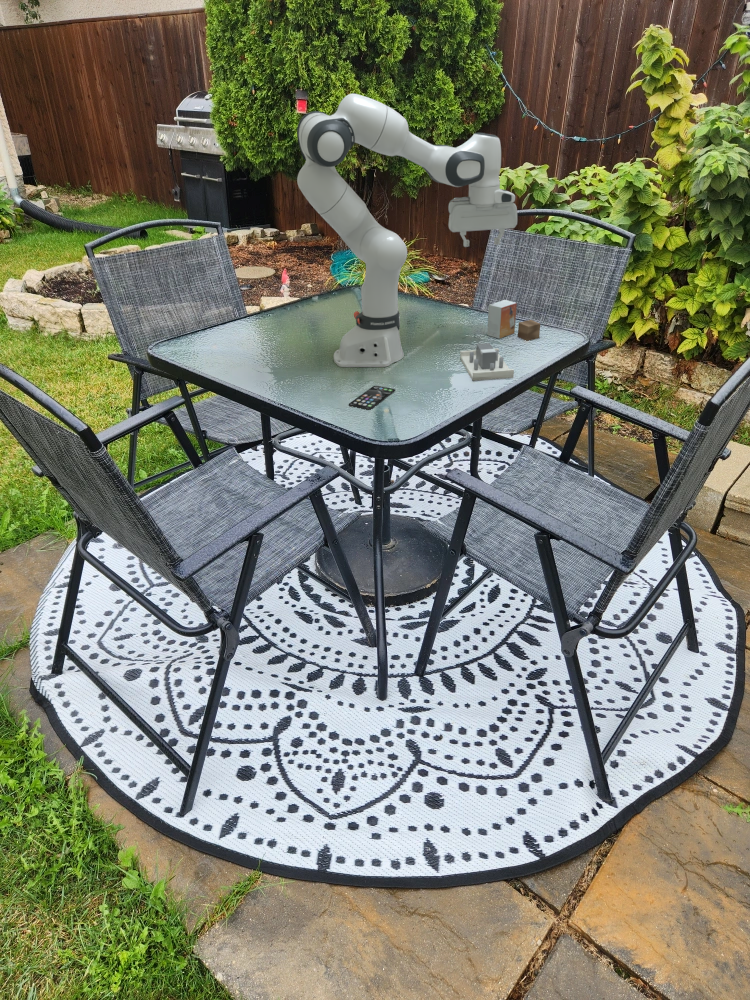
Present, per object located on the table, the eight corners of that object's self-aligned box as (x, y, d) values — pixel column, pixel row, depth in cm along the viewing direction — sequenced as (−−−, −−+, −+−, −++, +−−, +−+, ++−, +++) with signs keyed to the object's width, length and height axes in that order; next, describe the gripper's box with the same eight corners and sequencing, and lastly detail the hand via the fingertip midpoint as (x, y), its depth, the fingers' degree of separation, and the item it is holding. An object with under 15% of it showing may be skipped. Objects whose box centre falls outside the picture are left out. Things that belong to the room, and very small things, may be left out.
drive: (481, 369, 198) (482, 353, 196) (475, 359, 205) (476, 343, 202) (495, 368, 199) (496, 351, 196) (488, 358, 205) (489, 342, 203)
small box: (499, 339, 222) (501, 307, 216) (486, 335, 226) (488, 304, 220) (515, 333, 226) (517, 302, 221) (502, 329, 230) (504, 299, 224)
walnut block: (526, 341, 220) (528, 326, 217) (517, 337, 224) (518, 322, 221) (539, 338, 221) (540, 323, 219) (529, 334, 225) (531, 319, 223)
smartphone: (396, 389, 191) (370, 409, 180) (396, 391, 191) (370, 411, 180) (374, 385, 194) (347, 404, 183) (374, 387, 194) (347, 406, 184)
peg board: (472, 380, 194) (473, 367, 192) (460, 358, 209) (460, 346, 207) (513, 377, 195) (514, 364, 193) (497, 355, 210) (498, 343, 208)
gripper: (450, 199, 191) (449, 250, 199) (520, 195, 192) (517, 245, 200) (446, 196, 196) (445, 245, 204) (514, 192, 198) (511, 241, 205)
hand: (481, 245), depth 202 cm, fingers open, 8 cm apart
